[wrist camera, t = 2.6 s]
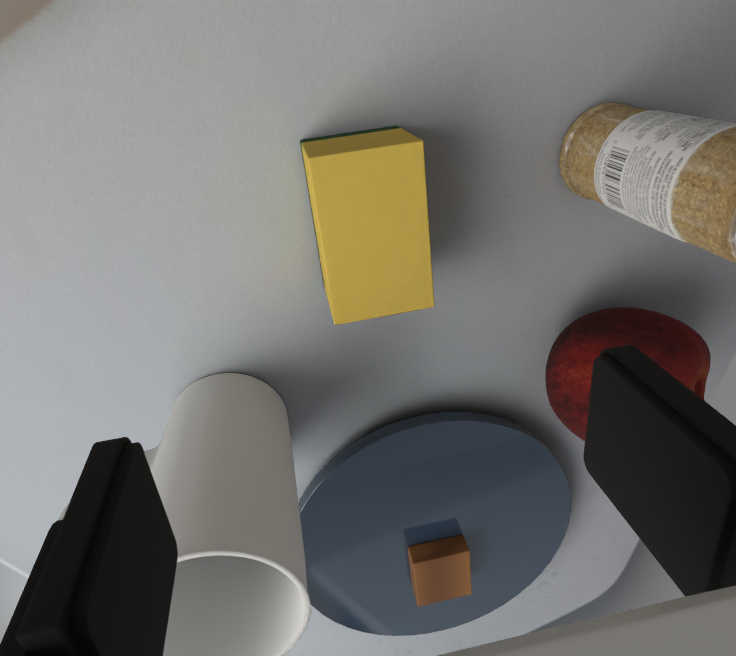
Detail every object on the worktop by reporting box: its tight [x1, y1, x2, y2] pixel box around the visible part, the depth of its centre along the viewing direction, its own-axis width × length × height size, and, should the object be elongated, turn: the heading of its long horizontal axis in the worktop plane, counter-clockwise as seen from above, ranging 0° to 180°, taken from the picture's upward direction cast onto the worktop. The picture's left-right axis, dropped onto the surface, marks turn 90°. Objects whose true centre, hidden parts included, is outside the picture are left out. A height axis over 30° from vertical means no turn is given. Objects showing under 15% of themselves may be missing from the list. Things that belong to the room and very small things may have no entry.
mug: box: [57, 373, 311, 656], centre depth 25 cm, size 10×7×12 cm, turn 86°
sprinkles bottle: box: [559, 102, 736, 263], centre depth 21 cm, size 5×4×14 cm
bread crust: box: [408, 534, 472, 607], centre depth 35 cm, size 4×4×1 cm
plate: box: [298, 412, 571, 636], centre depth 36 cm, size 18×18×2 cm
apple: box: [546, 308, 710, 441], centre depth 29 cm, size 7×8×8 cm
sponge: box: [300, 126, 434, 325], centre depth 24 cm, size 7×4×4 cm, turn 7°
